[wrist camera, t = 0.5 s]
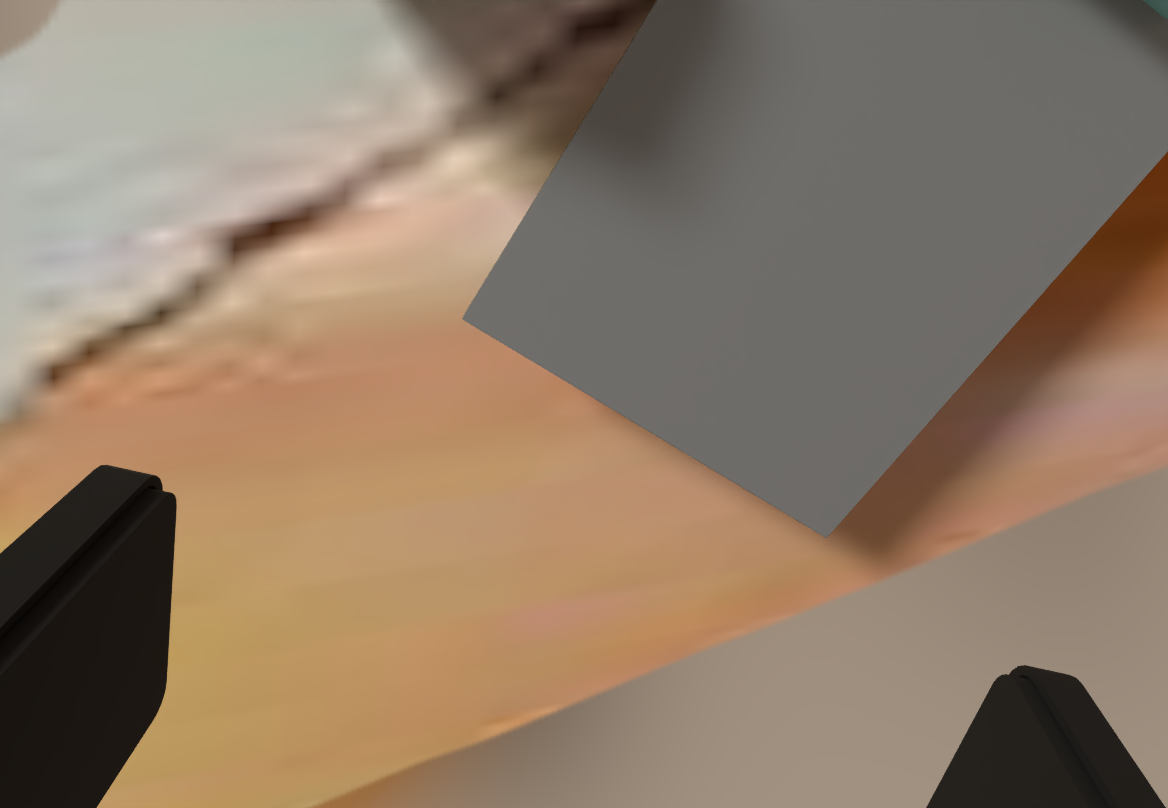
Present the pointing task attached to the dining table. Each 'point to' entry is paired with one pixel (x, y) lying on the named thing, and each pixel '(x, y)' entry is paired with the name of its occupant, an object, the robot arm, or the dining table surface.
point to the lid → (824, 219)
